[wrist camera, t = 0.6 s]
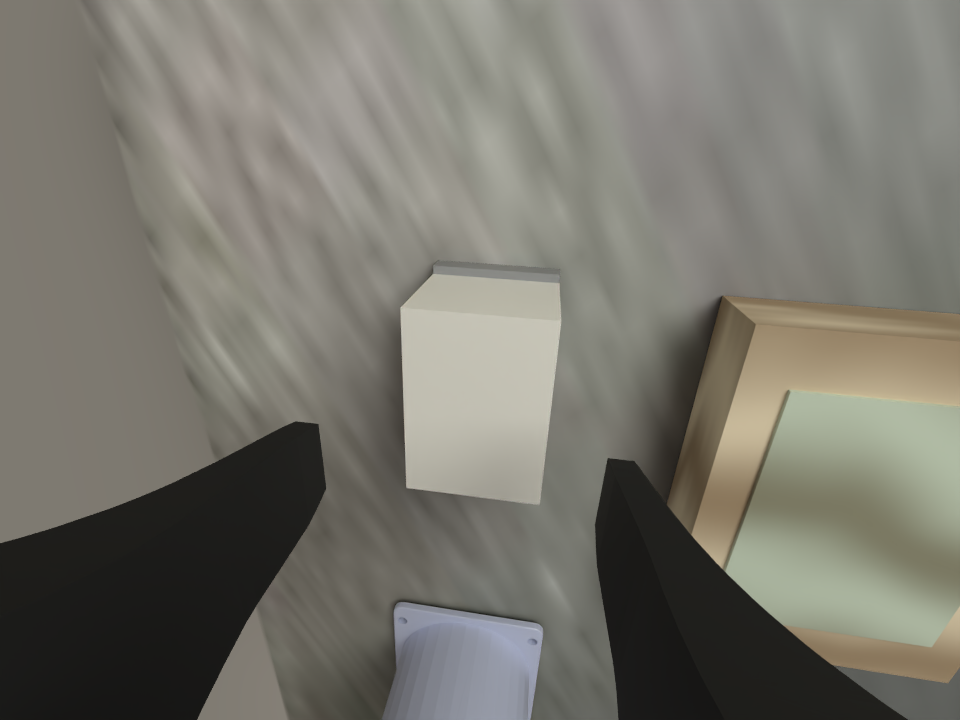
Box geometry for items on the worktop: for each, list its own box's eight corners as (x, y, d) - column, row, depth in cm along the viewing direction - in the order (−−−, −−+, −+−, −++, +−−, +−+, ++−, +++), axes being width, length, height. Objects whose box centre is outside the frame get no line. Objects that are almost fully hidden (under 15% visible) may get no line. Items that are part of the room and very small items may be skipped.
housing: (541, 430, 20) (538, 512, 15) (438, 418, 20) (406, 495, 16) (559, 268, 17) (562, 310, 13) (439, 259, 18) (400, 297, 13)
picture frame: (897, 614, 21) (950, 686, 18) (646, 578, 22) (660, 641, 19) (1074, 323, 15) (1193, 362, 12) (722, 295, 16) (758, 326, 14)
